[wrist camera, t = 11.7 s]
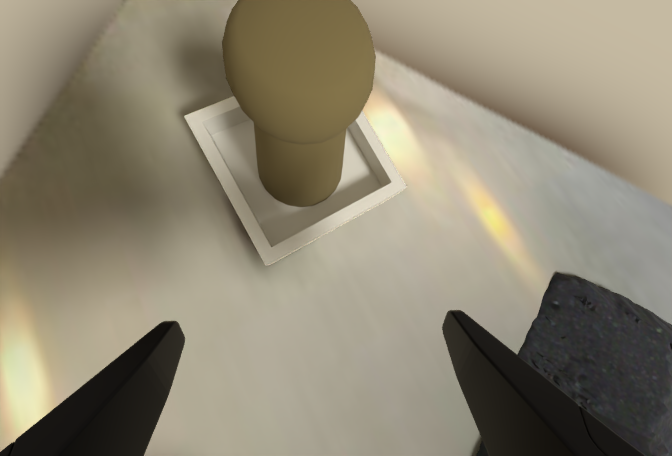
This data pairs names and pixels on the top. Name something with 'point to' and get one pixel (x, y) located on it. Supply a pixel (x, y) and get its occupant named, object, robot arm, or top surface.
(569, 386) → the dark slate chunk
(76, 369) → the top surface
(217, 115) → the tray
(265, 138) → the olive brown pawn
